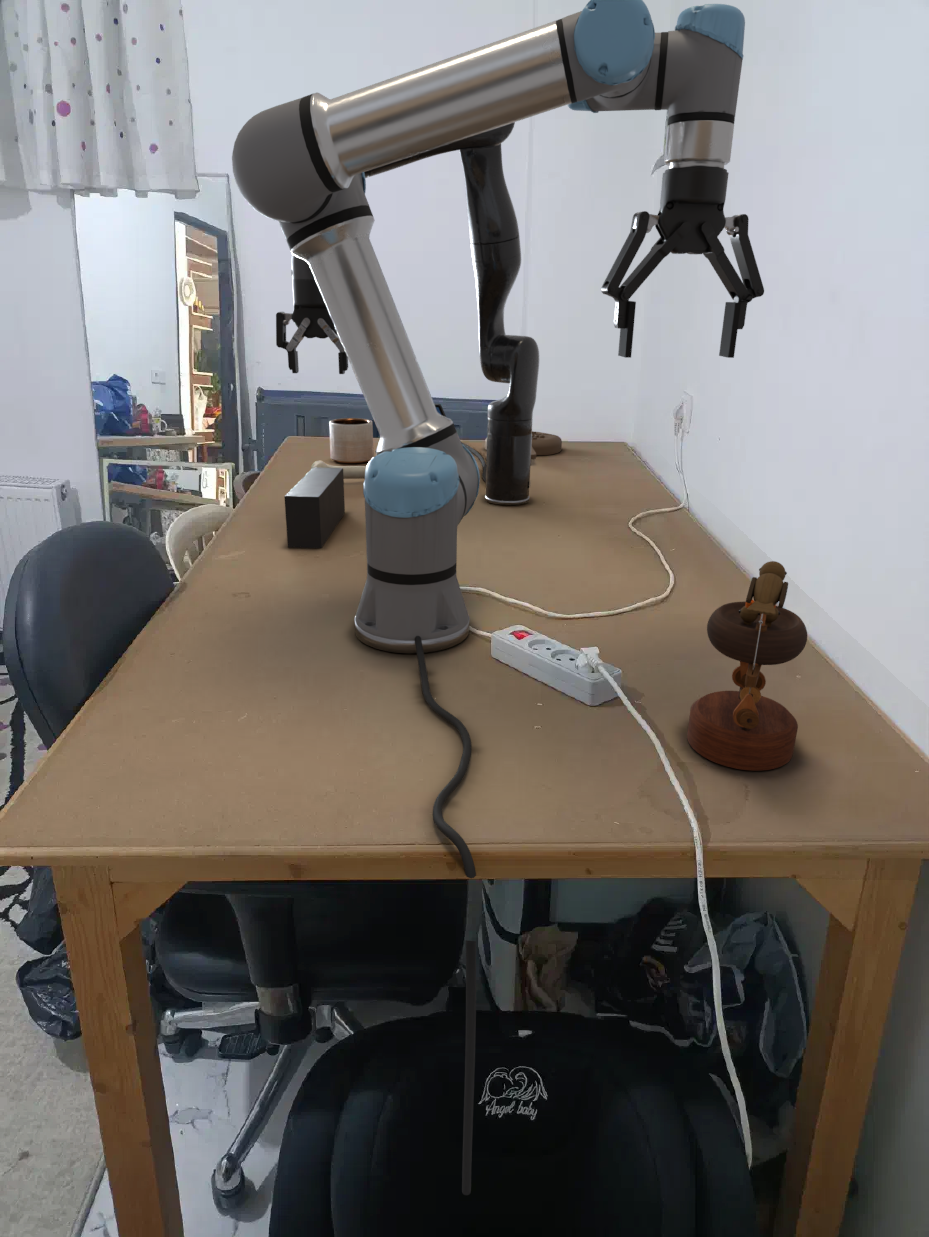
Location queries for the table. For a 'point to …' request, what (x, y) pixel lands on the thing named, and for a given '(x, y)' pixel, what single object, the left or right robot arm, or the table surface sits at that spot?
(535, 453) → the ice cream bar
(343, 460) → the planter
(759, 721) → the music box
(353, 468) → the dog toy
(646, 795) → the table surface
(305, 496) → the box
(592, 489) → the table surface
